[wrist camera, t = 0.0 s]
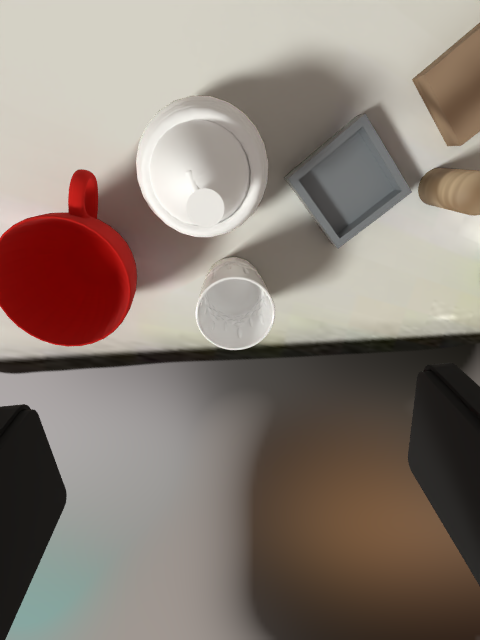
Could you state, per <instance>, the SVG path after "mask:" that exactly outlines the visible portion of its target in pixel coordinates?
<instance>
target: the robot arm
mask: <svg viewBox="0 0 480 640" xmlns="http://www.w3.org/2000/svg"><path fill="white" fill-rule="evenodd" d="M408 462H409V466H410V469H411V471H412V473H413V475H414V476H415V478H416V480H417V481H418V483H419V484H420V486H421V488H422V490H423V491H424V493H425V495H426V496H427V498H428V500H429V501H430V503H431V505H432V507H433V508H434V510H435V511H436V513H437V515H438V517H439V518H440V520H441V522H442V523H443V525H444V527H445V528H446V530H447V532H448V533H449V535H450V537H451V538H452V540H453V542H454V544H455V545H456V547H457V549H458V550H459V552H460V554H461V555H462V557H463V558H464V560H465V562H466V564H467V565H468V567H469V569H470V570H471V572H472V574H473V575H474V577H475V579H476V580H477V582H478V584H479V586H480V387H479V386H478V385H477V384H476V383H475V382H474V381H473V380H472V379H471V378H469V377H468V376H467V375H466V374H465V373H464V372H463V371H462V370H461V369H459V368H458V367H457V366H456V365H455V364H453V363H444V364H434V365H427V366H426V367H425V369H424V371H423V372H420V373H419V374H418V377H417V384H416V393H415V401H414V409H413V418H412V427H411V435H410V443H409V452H408ZM65 503H66V489H65V486H64V484H63V481H62V478H61V475H60V473H59V470H58V468H57V464H56V462H55V459H54V456H53V454H52V451H51V448H50V445H49V443H48V440H47V437H46V434H45V432H44V429H43V426H42V424H41V421H40V418H39V415H38V413H37V412H36V411H35V410H31V409H30V407H29V406H27V405H25V404H23V405H13V406H3V407H0V640H5V639H6V637H7V634H8V632H9V630H10V628H11V625H12V623H13V621H14V619H15V616H16V614H17V612H18V609H19V607H20V605H21V603H22V601H23V598H24V596H25V594H26V592H27V590H28V587H29V585H30V583H31V580H32V578H33V576H34V574H35V571H36V569H37V567H38V565H39V563H40V560H41V558H42V556H43V554H44V551H45V549H46V546H47V545H48V542H49V540H50V538H51V536H52V533H53V531H54V529H55V526H56V524H57V522H58V520H59V518H60V515H61V513H62V511H63V509H64V506H65Z"/></svg>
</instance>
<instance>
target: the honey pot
mask: <svg viewBox="0 0 480 640" xmlns="http://www.w3.org/2000/svg"><path fill="white" fill-rule="evenodd" d="M136 167H137V179H138V182H139V185H140V188H141V191H142V194H143V197H144V199H145V200H146V202H147V203H148V205H149V207H150V208H151V210H152V211H153V212H154V213H155V214H156V215H157V216H158V217H159V218H160V219H161V220H162V221H163V222H164V223H165V224H166V225H168V226H170V227H172V228H173V229H175V230H177V231H178V232H180V233H183V234H187V235H190V236H194V237H213V236H217V235H221V234H225V233H228V232H230V231H232V230H234V229H235V228H237V227H239V226H241V225H242V224H243V223H244V222H245V221H246V220H247V219H248V218H249V217H250V216H251V215H252V214H253V213H254V212H255V210H256V208H257V207H258V205H259V203H260V202H261V200H262V198H263V195H264V192H265V188H266V185H267V182H268V159H267V154H266V149H265V144H264V142H263V140H262V138H261V136H260V134H259V132H258V130H257V128H256V126H255V125H254V124H253V123H252V122H251V121H250V119H249V118H248V117H247V116H246V115H245V113H243V112H242V111H241V110H239V109H238V108H236V107H235V106H233V105H232V104H230V103H229V102H226V101H223V100H220V99H217V98H215V97H212V96H190V97H186V98H182V99H179V100H175V101H173V102H172V103H170V104H169V105H167V106H166V107H164V108H162V109H161V110H159V111H158V113H157V114H156V115H155V116H154V117H153V118H152V120H151V121H150V122H149V123H148V124H147V126H146V128H145V130H144V132H143V135H142V137H141V139H140V141H139V146H138V152H137V158H136Z"/></svg>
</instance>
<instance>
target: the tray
mask: <svg viewBox="0 0 480 640" xmlns="http://www.w3.org/2000/svg"><path fill="white" fill-rule="evenodd" d="M284 178H285V179H286V181H287V182H288V184H289V185H290V186H291V188H292V189H293V191H294V192H295V193H296V195H297V196H298V197H299V199H300V200H301V202H302V203H303V204H304V206H305V207H306V209H307V210H308V211H309V213H310V214H311V215H312V217H313V218H314V220H315V221H316V222H317V224H318V225H319V227H320V228H321V229H322V231H323V232H324V233H325V235H326V236H327V238H328V239H329V240H330V242H331V243H332V244H333V245H334V246H335V247H336V248H339V247H341V246H342V245H343V244H345V243H346V242H347V241H349V240H350V239H351V238H353V237H354V236H355V235H356V234H358V233H359V232H360V231H362V230H363V229H364V228H366V227H367V226H368V225H370V224H371V223H372V222H373V221H375V220H376V219H377V218H379V217H380V216H381V215H383V214H384V213H385V212H387V211H388V210H389V209H390V208H392V207H393V206H394V205H396V204H397V203H398V202H400V201H401V200H402V199H404V198H405V197H406V196H407V195H409V194H410V193H411V192H412V191H411V190H410V188H409V186H408V184H407V183H406V181H405V179H404V178H403V176H402V174H401V173H400V171H399V169H398V168H397V166H396V164H395V163H394V161H393V159H392V158H391V156H390V154H389V153H388V151H387V149H386V148H385V146H384V144H383V142H382V141H381V139H380V137H379V136H378V134H377V132H376V131H375V129H374V127H373V126H372V124H371V122H370V121H369V119H368V117H367V116H366V114H362V115H358V116H356V117H355V118H354V119H353V120H352V121H350V122H349V123H348V124H347V125H346V126H345V127H343V128H342V129H341V130H340V131H339V132H337V133H336V134H335V135H334V136H333V137H332V138H330V139H329V140H328V141H327V142H326V143H324V144H323V145H322V146H321V147H320V148H319V149H317V150H316V151H315V152H314V153H313V154H311V155H310V156H309V157H308V158H307V159H306V160H304V161H303V162H302V163H301V164H300V165H298V166H297V167H296V168H295V169H294V170H293V171H291V172H290V173H289V174H288V175H287V176H285V177H284Z"/></svg>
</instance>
